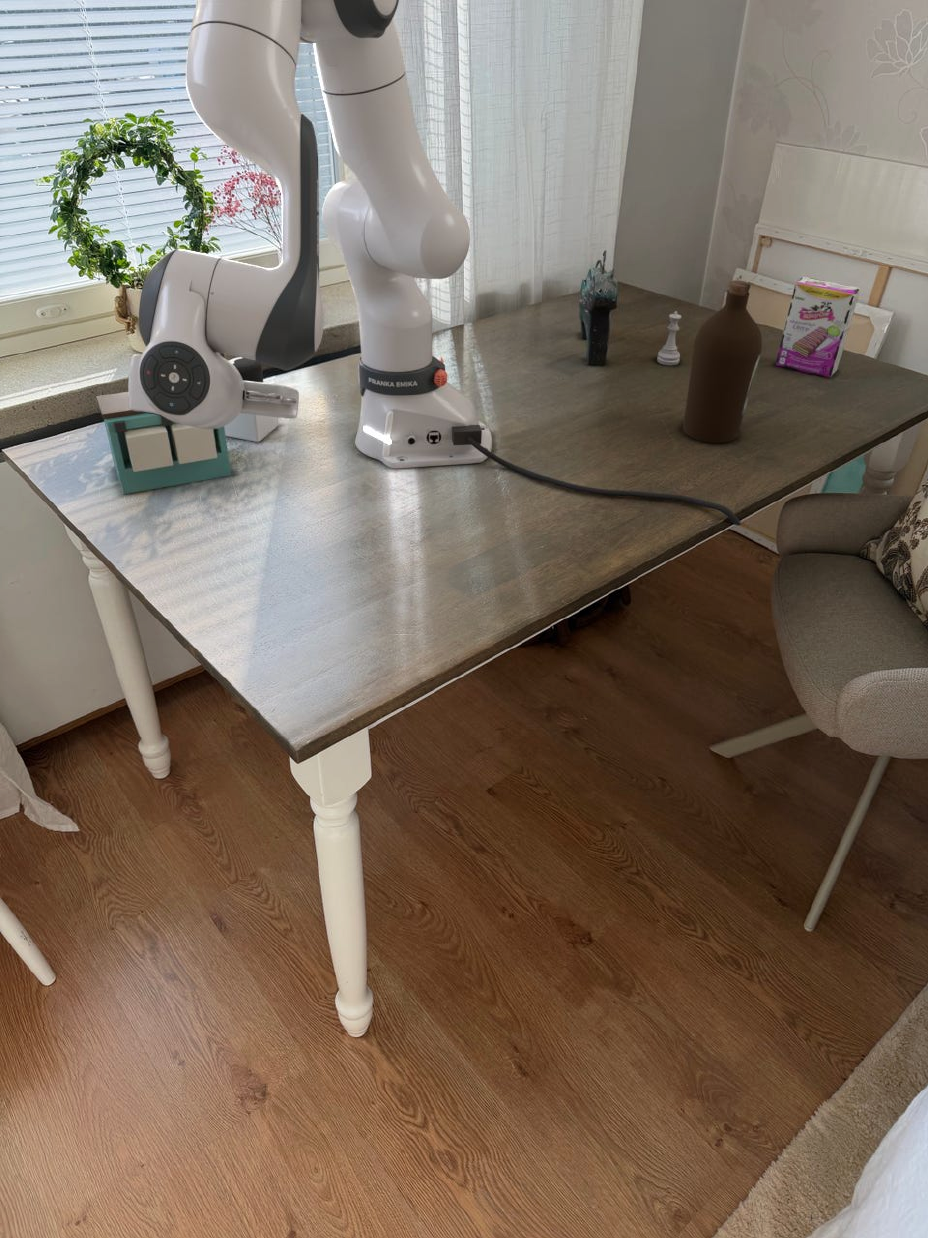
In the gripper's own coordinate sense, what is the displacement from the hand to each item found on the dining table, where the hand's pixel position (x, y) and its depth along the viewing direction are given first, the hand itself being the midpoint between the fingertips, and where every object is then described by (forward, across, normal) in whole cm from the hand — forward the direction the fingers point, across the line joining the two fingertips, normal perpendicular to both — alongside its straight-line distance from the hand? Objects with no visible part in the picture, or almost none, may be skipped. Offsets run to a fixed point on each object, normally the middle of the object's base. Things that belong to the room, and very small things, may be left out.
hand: (225, 398), depth 121 cm
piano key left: (+13, +12, +10) cm, 21 cm away
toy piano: (+20, +11, +11) cm, 25 cm away
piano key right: (+15, +6, +8) cm, 18 cm away
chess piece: (+59, -76, -20) cm, 98 cm away
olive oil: (+30, -76, -5) cm, 82 cm away
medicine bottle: (+33, +1, +3) cm, 33 cm away
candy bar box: (+55, -102, -21) cm, 118 cm away
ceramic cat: (+64, -61, -21) cm, 91 cm away
